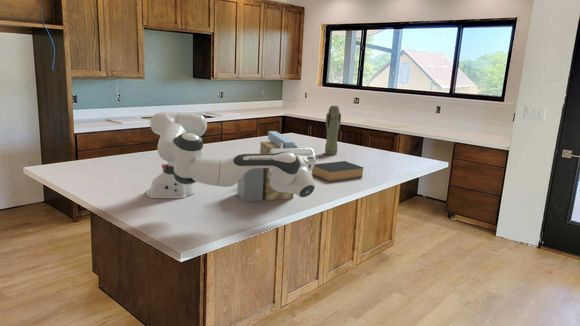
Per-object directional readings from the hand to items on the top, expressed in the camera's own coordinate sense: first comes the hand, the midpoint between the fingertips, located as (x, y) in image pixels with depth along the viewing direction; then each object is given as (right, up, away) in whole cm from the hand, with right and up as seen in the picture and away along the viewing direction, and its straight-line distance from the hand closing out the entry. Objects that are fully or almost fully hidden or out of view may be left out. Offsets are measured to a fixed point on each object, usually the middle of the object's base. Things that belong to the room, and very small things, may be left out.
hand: (287, 144), depth 196 cm
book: (+29, -17, +62) cm, 70 cm away
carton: (-6, -25, +19) cm, 31 cm away
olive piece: (+31, -2, +124) cm, 127 cm away
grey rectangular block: (-19, -25, +13) cm, 34 cm away
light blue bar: (-4, 0, +10) cm, 11 cm away
